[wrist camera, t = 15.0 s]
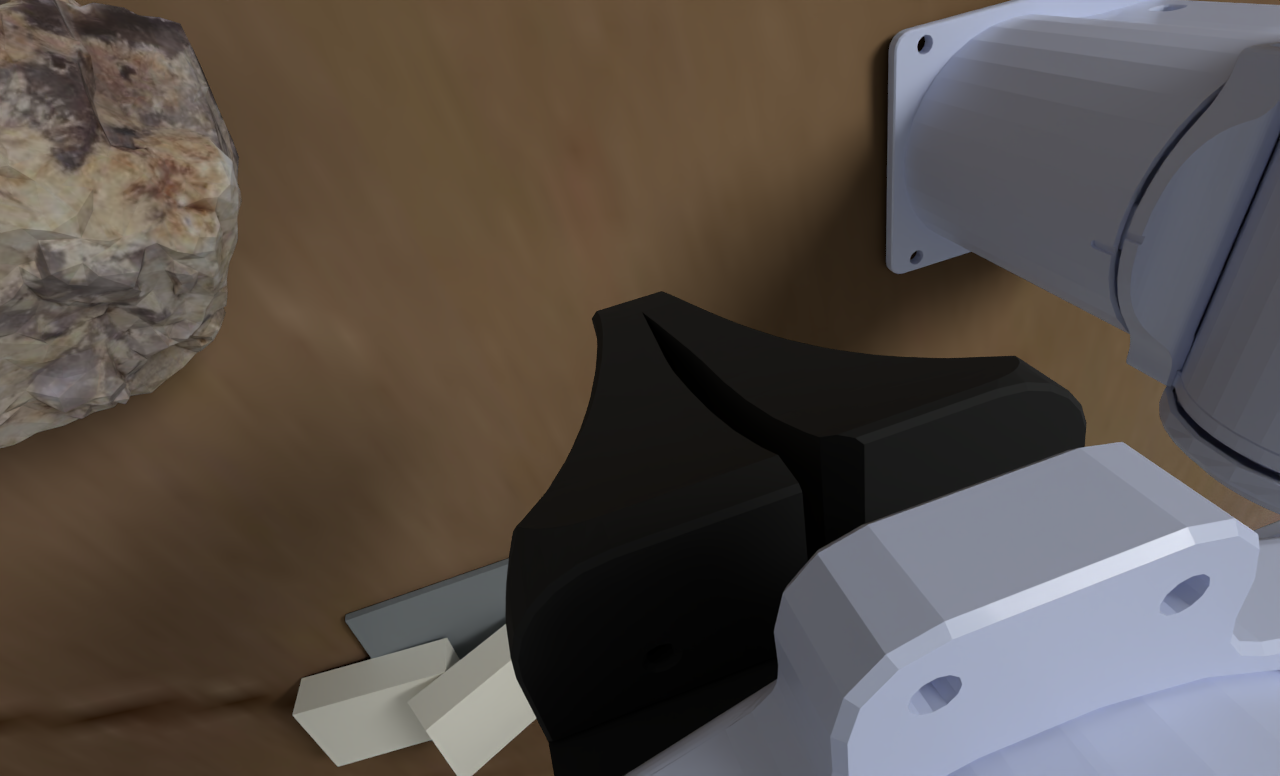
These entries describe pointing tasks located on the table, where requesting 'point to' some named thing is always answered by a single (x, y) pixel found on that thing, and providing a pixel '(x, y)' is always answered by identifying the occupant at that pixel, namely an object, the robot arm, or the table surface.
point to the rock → (105, 210)
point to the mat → (437, 614)
